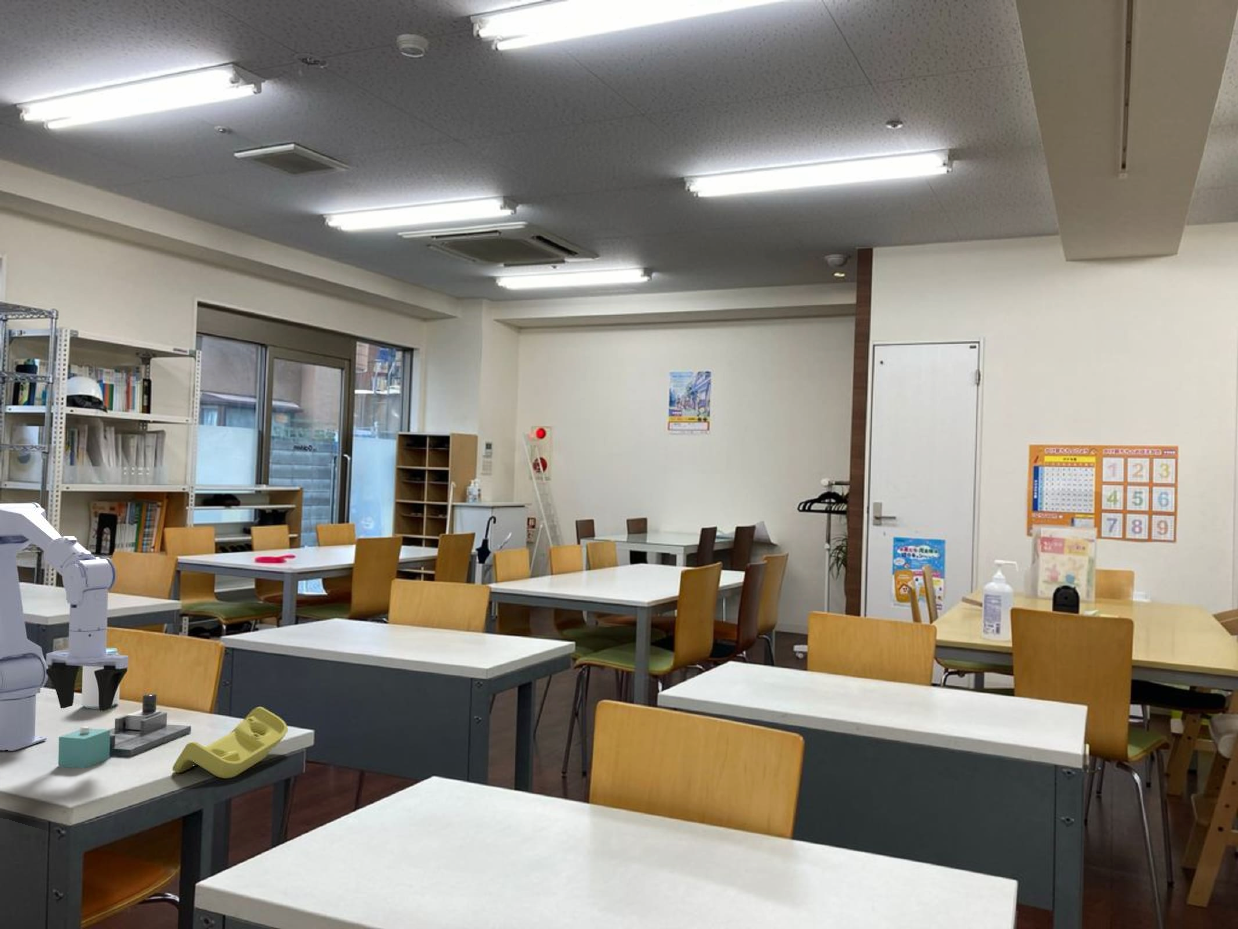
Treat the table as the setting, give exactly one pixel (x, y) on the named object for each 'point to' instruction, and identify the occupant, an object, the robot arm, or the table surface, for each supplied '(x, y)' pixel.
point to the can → (94, 685)
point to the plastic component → (236, 746)
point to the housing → (84, 747)
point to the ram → (142, 712)
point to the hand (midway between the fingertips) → (85, 708)
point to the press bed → (143, 735)
